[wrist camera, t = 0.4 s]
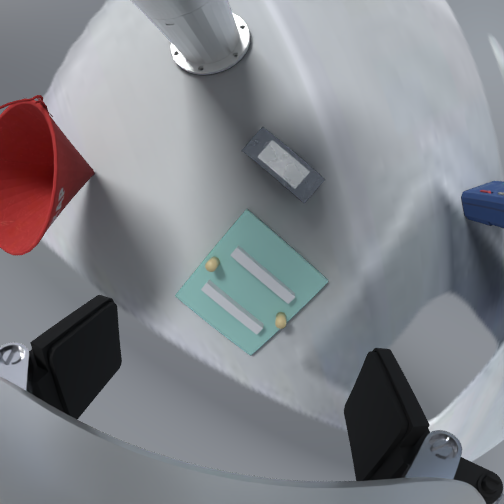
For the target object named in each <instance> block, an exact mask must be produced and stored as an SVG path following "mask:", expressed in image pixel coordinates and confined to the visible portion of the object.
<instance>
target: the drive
mask: <svg viewBox="0 0 504 504" xmlns="http://www.w3.org/2000/svg"><path fill="white" fill-rule="evenodd" d="M242 151H243V152H244V153H245V154H247V155H248V156H249V157H250V158H251V159H253V160H254V161H255V162H256V163H258V164H259V165H260V166H261V167H262V168H264V169H265V170H266V171H267V172H268V173H270V174H271V175H272V176H273V177H274V178H275V179H277V180H278V181H279V182H280V183H281V184H282V185H284V186H285V187H286V188H287V189H288V190H289V191H291V192H292V193H293V194H294V195H295V196H296V197H297V198H299V199H300V200H301V201H302V202H303V203H305V202H306V201H307V200H308V198H309V197H310V196H311V195H312V194H313V193H314V192H315V191H316V189H317V188H318V187H319V186H320V185H321V184H322V183H323V182H324V180H325V179H324V178H323V177H322V176H321V175H320V174H319V173H318V172H317V171H315V170H314V169H313V168H312V167H311V166H310V165H309V164H308V163H306V162H305V161H304V160H303V159H302V158H301V157H299V156H298V155H297V154H296V153H295V152H294V151H292V150H291V149H290V148H289V147H288V146H286V145H285V144H284V143H283V142H282V141H280V140H279V139H278V138H277V137H275V136H274V135H273V134H272V133H270V132H269V131H268V130H267V129H265V128H264V127H262V128H261V129H260V130H259V131H258V132H257V134H256V135H255V136H254V137H253V138H252V139H251V140H250V142H249V143H248V144H247V145H246V146H245V147H244V149H243V150H242Z"/></svg>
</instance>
